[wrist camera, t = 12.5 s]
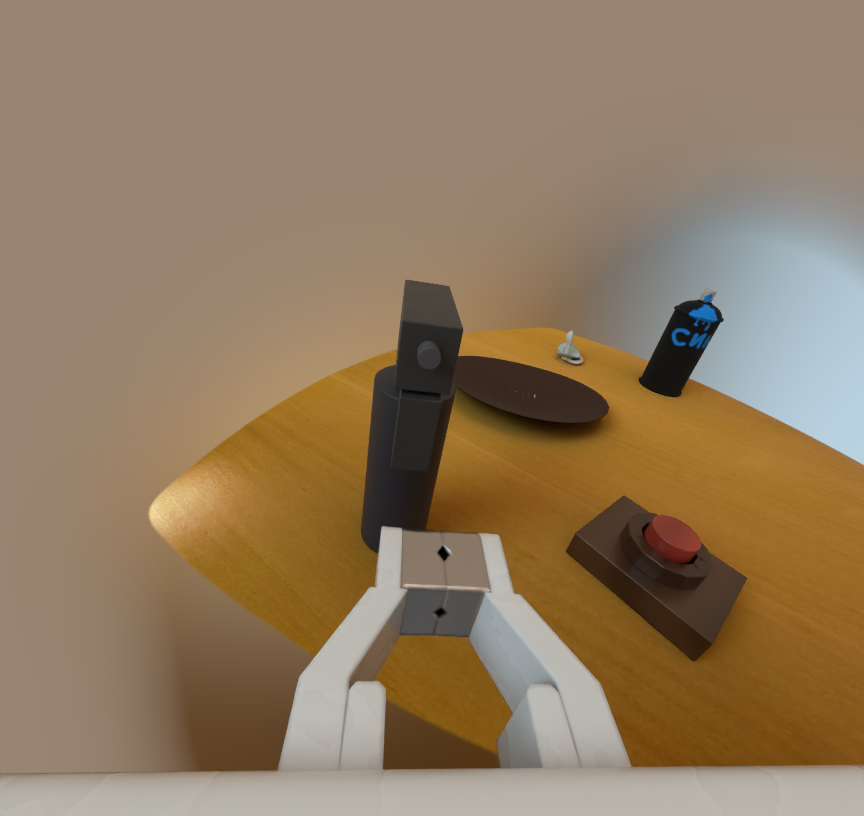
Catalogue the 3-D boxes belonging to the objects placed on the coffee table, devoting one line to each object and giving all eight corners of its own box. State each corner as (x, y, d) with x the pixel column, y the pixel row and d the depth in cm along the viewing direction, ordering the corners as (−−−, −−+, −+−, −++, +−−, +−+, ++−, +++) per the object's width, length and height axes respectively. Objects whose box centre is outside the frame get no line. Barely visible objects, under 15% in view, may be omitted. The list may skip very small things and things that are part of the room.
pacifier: (582, 358, 86) (557, 350, 87) (594, 332, 83) (567, 324, 84) (581, 369, 80) (553, 360, 81) (593, 342, 77) (564, 333, 78)
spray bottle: (426, 602, 30) (493, 339, 19) (350, 598, 29) (372, 322, 18) (423, 509, 39) (468, 288, 27) (364, 504, 38) (385, 276, 26)
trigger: (428, 472, 24) (442, 402, 21) (390, 468, 24) (400, 397, 21) (427, 456, 25) (440, 388, 23) (391, 452, 25) (400, 384, 22)
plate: (588, 379, 75) (595, 362, 73) (619, 463, 51) (630, 442, 50) (453, 348, 78) (456, 331, 76) (422, 414, 54) (426, 392, 52)
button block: (730, 595, 35) (759, 565, 33) (694, 662, 29) (726, 630, 27) (613, 512, 43) (630, 482, 40) (565, 551, 37) (582, 519, 34)
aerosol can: (633, 374, 82) (679, 281, 72) (672, 383, 81) (723, 289, 71) (644, 391, 75) (696, 290, 64) (687, 400, 74) (746, 300, 64)
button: (697, 551, 34) (708, 538, 33) (681, 572, 32) (692, 559, 31) (654, 521, 36) (662, 508, 36) (636, 539, 34) (644, 525, 33)
